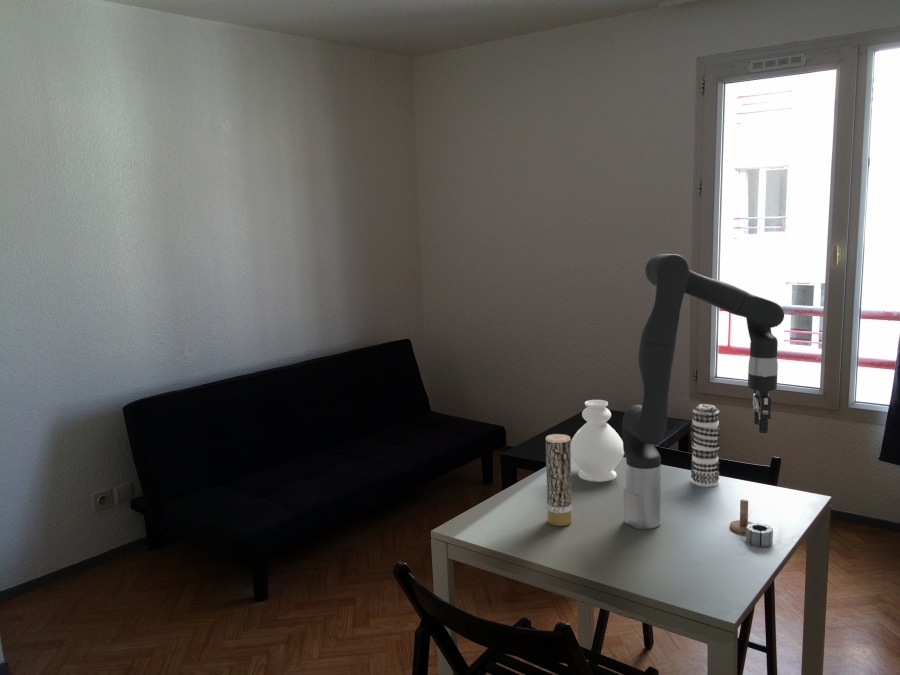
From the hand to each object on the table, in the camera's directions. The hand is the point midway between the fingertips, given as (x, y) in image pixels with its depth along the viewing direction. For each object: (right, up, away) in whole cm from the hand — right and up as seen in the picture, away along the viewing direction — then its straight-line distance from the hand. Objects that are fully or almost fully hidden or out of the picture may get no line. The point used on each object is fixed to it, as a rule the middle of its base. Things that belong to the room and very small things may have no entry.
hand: (760, 428), depth 206 cm
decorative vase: (-39, -21, +38) cm, 58 cm away
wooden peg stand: (-8, -26, -9) cm, 29 cm away
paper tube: (-57, -27, +1) cm, 63 cm away
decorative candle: (-6, -21, +27) cm, 35 cm away
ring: (-8, -28, -17) cm, 33 cm away
